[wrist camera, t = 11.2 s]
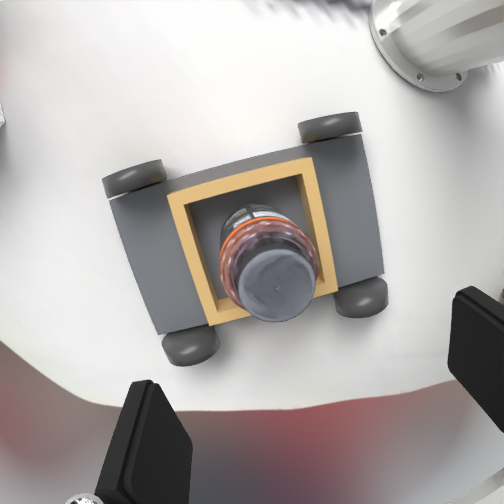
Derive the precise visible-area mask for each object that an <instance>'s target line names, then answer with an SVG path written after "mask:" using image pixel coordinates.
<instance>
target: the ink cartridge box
mask: <svg viewBox="0 0 504 504" xmlns="http://www.w3.org/2000/svg"><path fill="white" fill-rule="evenodd" d="M4 123H5V118H4V115H3V111H2V107H1V103H0V127H1V126H2V125H3V124H4Z"/></svg>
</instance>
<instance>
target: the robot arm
mask: <svg viewBox="0 0 504 504" xmlns="http://www.w3.org/2000/svg"><path fill="white" fill-rule="evenodd" d="M369 23H370V29H371V32H372V35H373V39H374V41H375V43H376V45H377V47H378V49H379V51H380V52H381V54H382V55H383V57H384V58H385V60H386V61H387V62H388V63H389V64H390V66H391V67H392V68H393V69H394V70H395V71H396V72H397V73H398V74H399V75H400V76H401V77H403V78H404V79H405V80H407V81H408V82H410V83H411V84H413V85H415V86H417V87H419V88H421V89H424V90H427V91H430V92H444V91H449V90H452V89H455V88H457V87H458V86H460V85H461V84H462V83H463V82H464V80H465V79H466V77H467V75H468V72H469V70H470V69H473V68H477V67H481V66H485V65H489V64H494V63H498V62H502V61H504V0H373V1H372V4H371V7H370V11H369ZM448 368H449V370H450V372H451V373H452V374H453V375H454V376H455V378H456V379H457V380H458V381H459V382H460V383H461V384H462V385H463V387H464V388H465V389H466V390H467V391H468V392H469V394H470V395H471V396H472V397H473V398H474V399H475V400H476V402H477V403H478V404H479V405H480V406H481V407H482V409H483V410H484V411H485V412H486V413H487V414H488V416H489V417H490V418H491V419H492V421H493V422H494V423H495V424H496V425H497V427H498V428H499V429H500V430H501V431H502V432H503V433H504V306H503V305H502V304H500V303H499V302H497V301H496V300H494V299H493V298H491V297H490V296H488V295H487V294H485V293H484V292H482V291H481V290H479V289H477V288H476V287H474V286H469V287H467V288H464V289H462V290H460V291H458V292H457V293H456V295H455V298H454V299H453V302H452V320H451V333H450V344H449V354H448ZM192 451H193V447H192V442H191V439H190V437H189V435H188V434H187V432H186V431H185V429H184V427H183V426H182V424H181V422H180V421H179V419H178V417H177V416H176V414H175V412H174V410H173V408H172V407H171V405H170V403H169V401H168V400H167V398H166V396H165V394H164V392H163V390H162V389H161V387H160V385H159V384H158V383H155V384H154V383H153V381H151V380H143V381H137V382H133V383H132V384H131V386H130V388H129V391H128V394H127V397H126V399H125V402H124V405H123V408H122V411H121V413H120V416H119V420H118V422H117V425H116V428H115V430H114V433H113V436H112V439H111V442H110V445H109V448H108V451H107V454H106V458H105V461H104V464H103V467H102V470H101V474H100V477H99V480H98V484H97V487H96V490H95V493H94V495H93V494H88V493H82V494H78V495H75V496H73V497H71V498H70V499H69V500H67V502H66V503H65V504H189V488H190V476H191V462H192ZM446 504H504V468H503V469H501V470H500V471H498V472H497V473H496V474H494V475H493V476H491V477H490V478H488V479H487V480H485V481H483V482H482V483H480V484H479V485H477V486H475V487H474V488H472V489H470V490H469V491H467V492H465V493H463V494H462V495H460V496H458V497H456V498H455V499H453V500H451V501H449V502H447V503H446Z"/></svg>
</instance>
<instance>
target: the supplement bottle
mask: <svg viewBox="0 0 504 504" xmlns="http://www.w3.org/2000/svg"><path fill="white" fill-rule="evenodd" d="M318 271H319V261H318V257H317V252H316V249H315V247H314V245H313V243H312V242H311V240H310V239H309V237H308V236H307V235H306V234H305V233H304V232H303V231H302V230H301V229H300V228H299V227H298V226H297V225H296V224H294V223H293V222H292V221H291V220H290V219H289V218H287V217H286V216H285V215H284V214H283V213H282V212H281V211H279V210H278V209H276V208H274V207H272V206H270V205H267V204H262V203H250V204H247V205H244V206H241V207H239V208H238V209H236V210H235V211H233V212H232V213H231V214H230V215H229V216H228V218H227V219H226V220H225V222H224V224H223V226H222V230H221V234H220V259H219V274H220V280H221V283H222V286H223V288H224V290H225V292H226V294H227V295H228V297H229V298H230V299H231V300H232V301H233V302H234V303H235V304H236V305H237V306H239V307H240V308H242V309H243V310H245V311H247V312H249V313H250V314H251V315H253V316H254V317H256V318H258V319H260V320H263V321H267V322H283V321H287V320H289V319H292V318H294V317H296V316H297V315H299V314H300V313H302V312H303V311H304V310H305V309H306V308H307V306H308V305H309V304H310V302H311V300H312V298H313V296H314V293H315V287H316V281H317V277H318Z"/></svg>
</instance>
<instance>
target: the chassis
mask: <svg viewBox="0 0 504 504" xmlns="http://www.w3.org/2000/svg"><path fill="white" fill-rule="evenodd" d="M298 128H299V132H300V136H301V140H302V143H305V142H310V141H315V140H320V139H325V138H330V137H335V136H341V135H346V134H352V133H357V132H363V131H362V127H361V123H360V119H359V115H358V112H348V113H341V114H335V115H329V116H324V117H320V118H315V119H311V120H307V121H304V122H301V123H298ZM165 179H166V175H165V172H164V168H163V164H162V161H161V159H160V160H154V161H150V162H146V163H143V164H140V165H136V166H133V167H130V168H127V169H124V170H121V171H119V172H116V173H114V174H111V175H109V176H107V177H105V178H103V179H102V182H103V186H104V189H105V193H106V196H107V199H108V198H111V197H114V196H117V195H120V194H122V193H125V192H128V191H131V190H134V189H137V188H140V187H143V186H146V185H149V184H152V183H155V182H158V181H161V180H165ZM109 203H110V206H111V209H112V212H113V215H114V219H115V222H116V225H117V228H118V231H119V234H120V237H121V240H122V243H123V246H124V249H125V252H126V254H127V257H128V260H129V263H130V266H131V268H132V271H133V274H134V276H135V279H136V282H137V284H138V287H139V289H140V292H141V295H142V297H143V300H144V302H145V305H146V307H147V310H148V312H149V314H150V317H151V319H152V322H153V324H154V326H155V329H156V331H157V333H158V335H161V334H165V333H168V334H167V335H166V336H165V337H164V338H163V340H162V347H163V349H164V351H165V353H166V356H167V358H168V360H169V362H170V363H171V364H173V365H175V366H183V367H184V366H192V365H196V364H199V363H201V362H203V361H205V360H207V359H209V358H210V357H211V356H213V355H214V354H215V353H216V351H217V350H218V348H219V345H220V343H219V340H218V337H217V334H216V331H215V329H214V326H213V325H216V324H220V323H224V322H228V321H232V320H236V319H240V318H244V317H247V316H251V314H250V313H249V312H247V311H245V310H243V309H242V308H240V307H239V306H237V305H236V304H235V303H234V302H233V301H232V300H231V299H230V298H229V297H228V295H227V294H226V292H225V290H224V288H223V286H222V283H221V280H220V274H219V259H220V234H221V230H222V226H223V224H224V222H225V220H226V219H227V218H228V216H229V215H230V214H231V213H232V212H233V211H235V210H236V209H238V208H239V207H241V206H244V205H247V204H250V203H262V204H267V205H270V206H272V207H274V208H276V209H278V210H279V211H281V212H282V213H283V214H284V215H285V216H286V217H287V218H289V219H290V220H291V221H292V222H293V223H294V224H296V225H297V226H298V227H299V228H300V229H301V230H302V231H303V232H304V233H305V234H306V235H307V236H308V237H309V239H310V240H311V242H312V243H313V245H314V247H315V249H316V252H317V257H318V261H319V271H318V277H317V281H316V287H315V293H314V296H313V298H316V297H319V296H323V295H326V294H329V293H334V299H335V306H336V310H337V312H338V313H339V314H340V315H342V316H345V317H349V318H365V317H370V316H373V315H375V314H378V313H380V312H381V311H383V310H384V309H385V308H386V307H387V305H388V289H387V283H386V282H385V281H384V280H383V279H381V278H378V277H374V276H378V275H381V274H384V267H383V258H382V250H381V242H380V235H379V227H378V221H377V214H376V208H375V202H374V196H373V190H372V185H371V179H370V174H369V169H368V164H367V159H366V154H365V150H364V145H363V141H362V136H361V134H359V135H353V136H347V137H342V138H337V139H332V140H327V141H322V142H317V143H312V144H307V145H302V146H298V147H293V148H289V149H284V150H280V151H276V152H271V153H267V154H263V155H259V156H255V157H251V158H247V159H243V160H239V161H235V162H232V163H228V164H224V165H221V166H217V167H213V168H210V169H206V170H203V171H199V172H196V173H192V174H189V175H186V176H182V177H179V178H176V179H172V180H169V181H166V182H163V183H160V184H157V185H153V186H150V187H147V188H144V189H141V190H138V191H135V192H132V193H129V194H126V195H124V196H121V197H118V198H115V199H112V200H110V201H109Z"/></svg>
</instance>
